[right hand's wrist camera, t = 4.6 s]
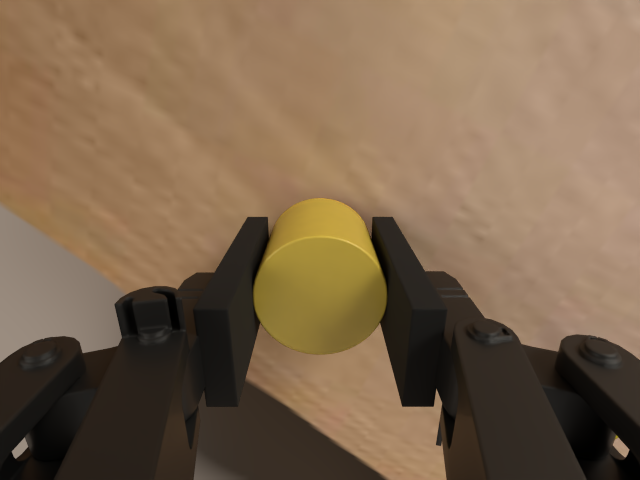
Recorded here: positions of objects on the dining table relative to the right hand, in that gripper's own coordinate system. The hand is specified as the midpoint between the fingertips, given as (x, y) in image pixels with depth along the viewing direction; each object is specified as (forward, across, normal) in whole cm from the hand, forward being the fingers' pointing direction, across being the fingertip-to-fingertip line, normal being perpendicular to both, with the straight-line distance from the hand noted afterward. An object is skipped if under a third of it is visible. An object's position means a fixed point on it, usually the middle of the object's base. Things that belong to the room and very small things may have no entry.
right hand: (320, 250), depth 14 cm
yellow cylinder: (0, 0, 0) cm, 0 cm away
